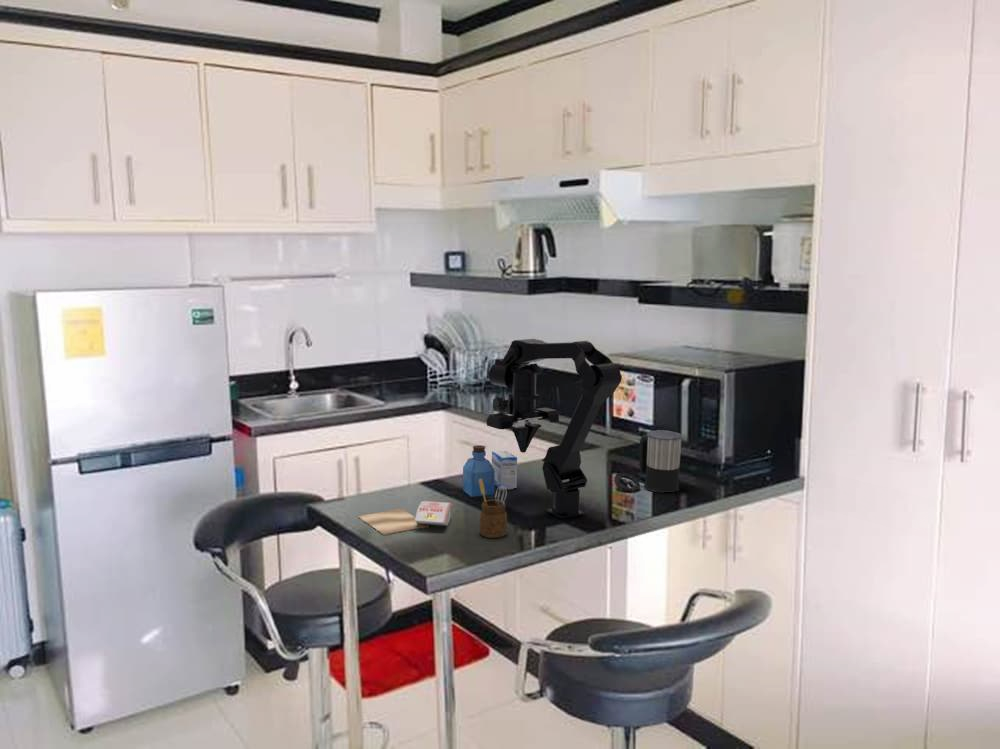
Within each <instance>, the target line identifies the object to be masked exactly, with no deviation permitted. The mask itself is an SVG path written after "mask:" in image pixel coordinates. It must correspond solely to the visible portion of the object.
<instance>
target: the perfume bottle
mask: <svg viewBox="0 0 1000 749" xmlns="http://www.w3.org/2000/svg"><path fill="white" fill-rule="evenodd" d="M485 449H486V446H485V445H481V444H480V445H479V444H478V445H473V446H472V452H471V455H472V456H473V457H469V458H468V459H467V460H466V462H465V464H464V465H463V466H462V490H463V492H464V493H466V494H467V495H469V497H471V498H473V497H474V498H475V497H483V494H482V493H481V489H480V484H479V480H480V479H481V478H482V481H483V485H484V489H485V496H492V495H495V485H494V480H495V471H494V469H493V467H492V465H491V464H492V462H491V461H490V460H488V459H487V458H486V455H487V454H486V450H485Z"/></svg>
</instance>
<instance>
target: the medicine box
mask: <svg viewBox="0 0 1000 749" xmlns="http://www.w3.org/2000/svg"><path fill="white" fill-rule="evenodd" d="M491 465H492V467H493V469H494V471H495V480H494V486H495V487H497V488H498V487H499V490H501V491H503V490H504V491H507V489H508V490H514V488H516V489H517V483H518V482H517V480H518V479H517V478H518V477H517V474H518V473H517V472H518V457H517V456H515V455H514V454H512V452H510V451H508V450H503V449H502V450H493V451H492V450H491ZM500 486H502V487H501V488H500ZM503 488H504V489H503Z"/></svg>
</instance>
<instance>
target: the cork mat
mask: <svg viewBox="0 0 1000 749" xmlns="http://www.w3.org/2000/svg"><path fill="white" fill-rule="evenodd" d="M415 517H416V516H414V515H413V514H411V513H409V512H407V511H405V510H404V509H402V508H397V509H391V510H386V511H379V512H376V513H375V512H374V513H370V514H368V513H367V514H364V515H363V514H362V515H358V516H357V518H358V519H360V520H361V521H363V522H364V523H365V522H366V525H368V524H369V525H368V526H370V527H371V526H372V527H373V529H374V528H375V529H376V531H377V532H378V531H379V532H378V533H380V535H382V534H383V536H387V535H393V534H398V533H405V532H410V531H414V529H415V530H420V529H419V528H421V529H426V528H429V527H430V525H426V524H417V523H416V522H415ZM372 527H371V528H372ZM425 527H426V528H425ZM375 529H374V530H375Z"/></svg>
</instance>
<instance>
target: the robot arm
mask: <svg viewBox="0 0 1000 749" xmlns="http://www.w3.org/2000/svg"><path fill="white" fill-rule="evenodd" d="M546 359H547V360H548V359H552V360H553V359H555V360H556V359H571V360H573V362H574V363H573V364H574V367H575V371H576V373H577V374H578V376H579V377H580V378H581V380H580V381H581V382H580V391H581V397H580V399H579V401H578V404H577V406H576V408H575V410H574V412H573V414H572V417H571V419H570V421H569V423H568V425H567V428H566V430H565V433H564V435H563V437H562V439H561V442H560V443H559V445H554V446H549V447H548V449H546V452H545V453H546V454H545V455H544V458H543V459H542V462H543V464H542V468H541V469H542V472H543V477H544V481H545V482H544V483H545V486H546V489H547V490H549V491H550V492H551V493H552V496H551V498H552V499H551V508H548V509H546V512H548V514H549V513H550V514H552V515H553V516H555V517H558V518H560V519H568V518H572V517H573V518H574V517H578V516H583V515H585V513H584V511H582V510H580V489H581V488H586V486H587V483H588V478H587V477H586V474H584V471H583V470H582V469H581V465H582V464H581V463H582V457H581V450H582V448H583V446H584V443H585V441H586V439H587V437H588V435H589V432H590V430H591V428H592V427H593V424H594V422H595V420H596V418H597V416H598V413H599V411H600V409H601V407H602V405H603V403H604V402H606V400H607V399H608V398H609V397H611V396H612V395H613V394H614V393H615V392H616V390H617V389H618V388H619V385H620V384H621V383H622V379H623V376H622V373H621V370H620V368H619V367H618V366H617V364H615V363H614V362H613V361H612V360H611V358H609V356H607V355H606V354H604V353H603V352H601V351H600V350H598V349H597V348H596V347H595V346H594V344H593V343H592V342H590V341H588V340H581V341H580V340H578V341H573V342H572V341H571V342H570V341H568V342H546V341H543V340H541V339H540V340H539V339H535V338H528V339H527V338H525V339H516V340H512V341H511V344H510V346H509V348H508V350H507V352H506V353H505V355H504V357H502V358H495V359H494V364H492V366H491V367H490V369H489V372H488V379H489V382H490V384H492V385H495V386H500V387H505V388H512V392H509V393H508V399H503V397H494V398H493V399H492V410H493V411H494V412H497V413H491V414H488V416H487V417H486V426H487V427H491V428H494V429H496V430H497V429H498V430H507V429H510V430H511V431H512V432H513V435H514V437H515V439H516V442H517V446H518V449H519V451H520V453H521V454H523V453H526V451H527V450H528V448H529V446H530V444H531V442H532V441H533V438H534V437H535V435H536V433H537V432H538V430H539V429H540V428H542V424H539V421H541V420H546V421H548V422H549V423H559V422H560V412H558V410H557V409H552V408H549V407H540V408H536V400H539V399H540V396H539V394H537V375H540V374H543V372H544V371H543V369H542V368H541V367H540V366H539V365H538V363H537V362H540V361H544V360H546ZM588 362H589V363H591V364H589V363H588ZM566 480H568V481H566Z"/></svg>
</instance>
